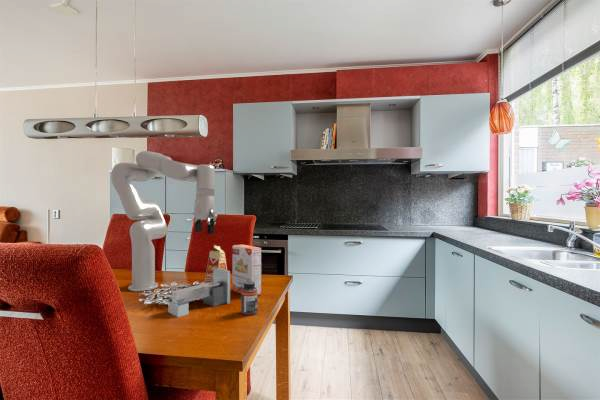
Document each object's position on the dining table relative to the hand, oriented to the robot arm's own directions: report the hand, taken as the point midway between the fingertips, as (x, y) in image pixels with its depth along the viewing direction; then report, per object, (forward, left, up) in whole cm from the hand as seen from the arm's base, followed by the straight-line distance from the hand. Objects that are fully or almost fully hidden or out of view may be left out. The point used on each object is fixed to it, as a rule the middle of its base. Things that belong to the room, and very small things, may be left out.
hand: (204, 232), depth 136 cm
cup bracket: (+12, -2, -27) cm, 30 cm away
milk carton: (-9, +12, -27) cm, 31 cm away
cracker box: (+11, +14, -27) cm, 33 cm away
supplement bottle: (+31, -1, -27) cm, 41 cm away
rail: (+12, -11, -23) cm, 28 cm away
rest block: (+12, -18, -27) cm, 35 cm away
